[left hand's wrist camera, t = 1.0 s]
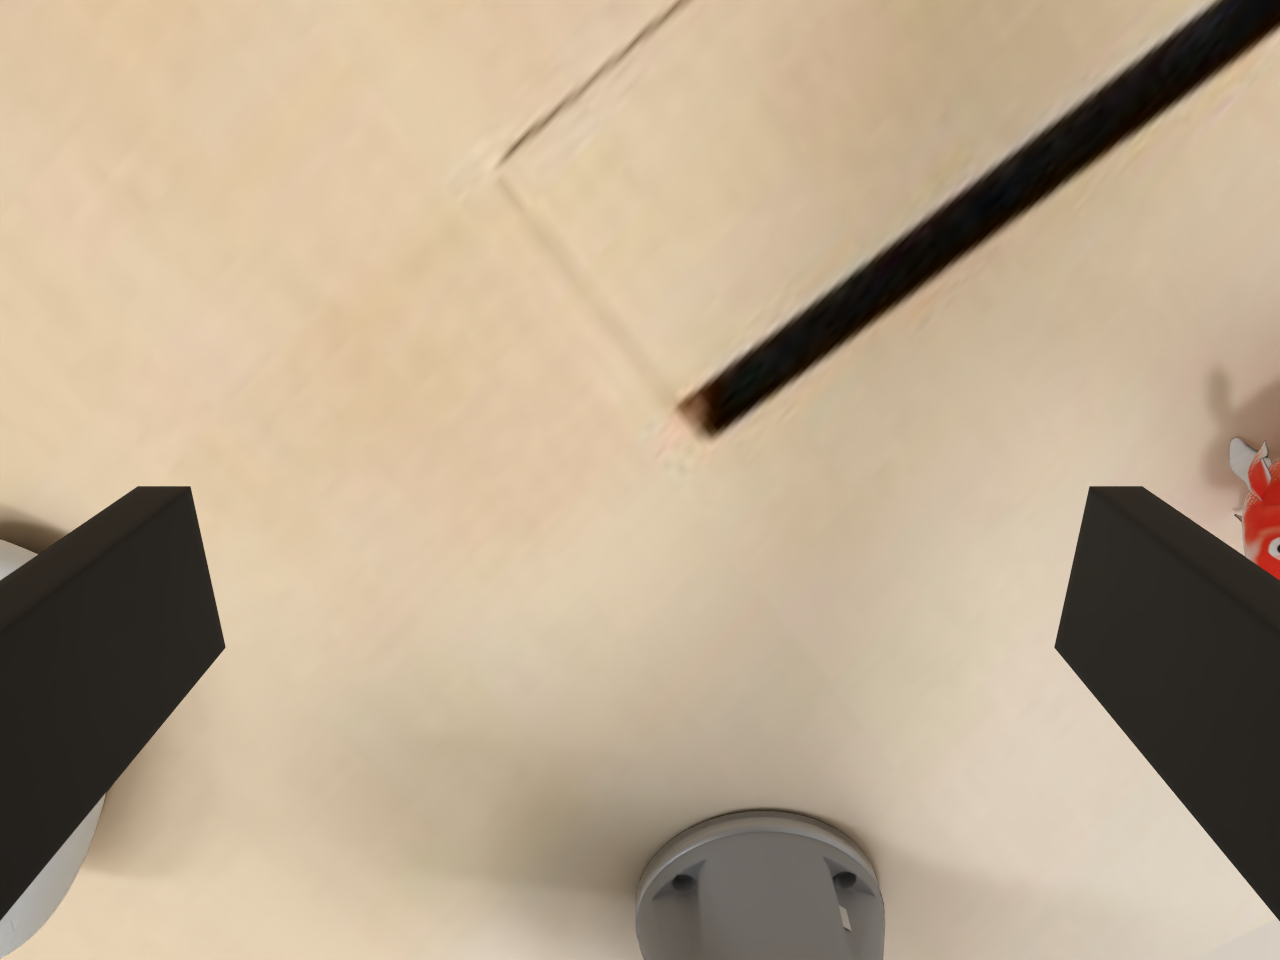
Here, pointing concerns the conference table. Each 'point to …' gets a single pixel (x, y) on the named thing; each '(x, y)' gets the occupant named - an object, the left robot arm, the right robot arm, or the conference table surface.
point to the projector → (69, 858)
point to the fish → (1259, 504)
